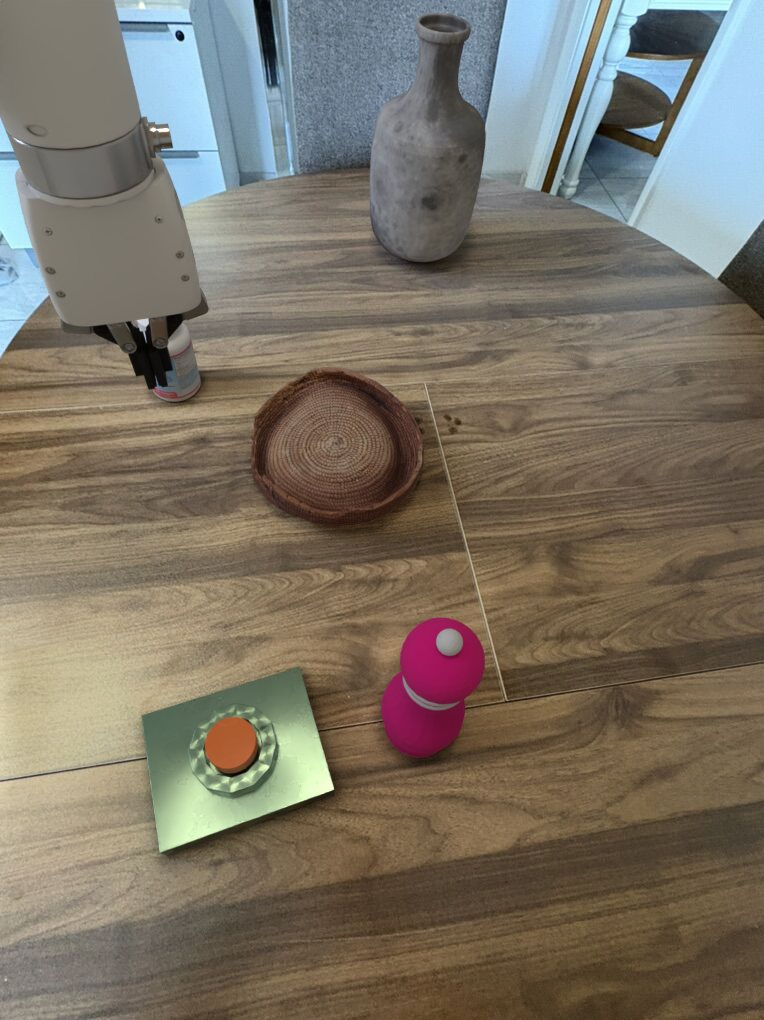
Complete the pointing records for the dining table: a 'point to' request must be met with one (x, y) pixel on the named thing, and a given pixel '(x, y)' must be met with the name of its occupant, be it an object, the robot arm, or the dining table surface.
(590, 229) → the dining table surface
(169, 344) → the pill bottle
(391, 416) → the basket
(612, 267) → the dining table surface
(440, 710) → the pepper mill
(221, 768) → the button
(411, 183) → the vase
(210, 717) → the green button base
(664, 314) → the dining table surface
